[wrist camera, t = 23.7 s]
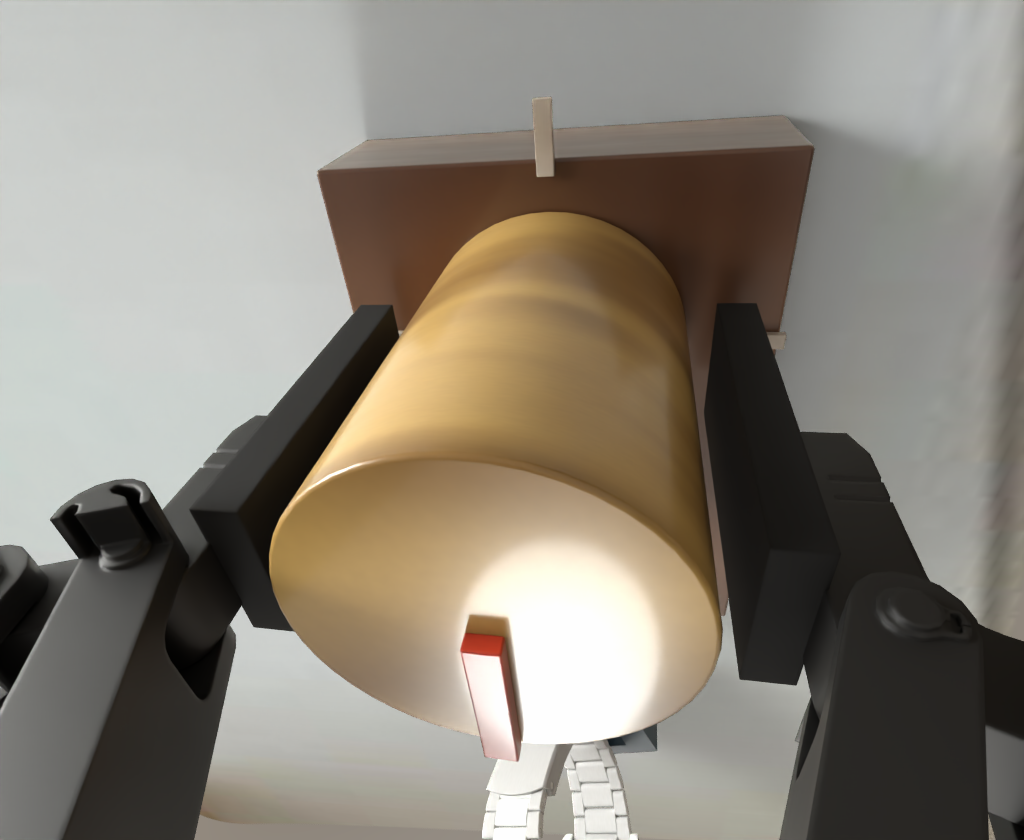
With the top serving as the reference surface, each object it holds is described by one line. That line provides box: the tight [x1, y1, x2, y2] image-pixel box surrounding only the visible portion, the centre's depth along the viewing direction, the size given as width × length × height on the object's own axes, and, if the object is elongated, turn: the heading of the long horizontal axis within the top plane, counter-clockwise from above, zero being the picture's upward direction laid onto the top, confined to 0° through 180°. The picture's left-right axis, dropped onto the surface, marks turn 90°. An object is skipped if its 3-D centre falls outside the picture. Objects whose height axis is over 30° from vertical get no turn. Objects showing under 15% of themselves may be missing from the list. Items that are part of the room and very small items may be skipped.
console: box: [317, 97, 815, 616], centre depth 17 cm, size 15×10×3 cm
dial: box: [269, 212, 723, 762], centre depth 11 cm, size 6×6×8 cm
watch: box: [482, 724, 657, 840], centre depth 23 cm, size 6×8×11 cm
